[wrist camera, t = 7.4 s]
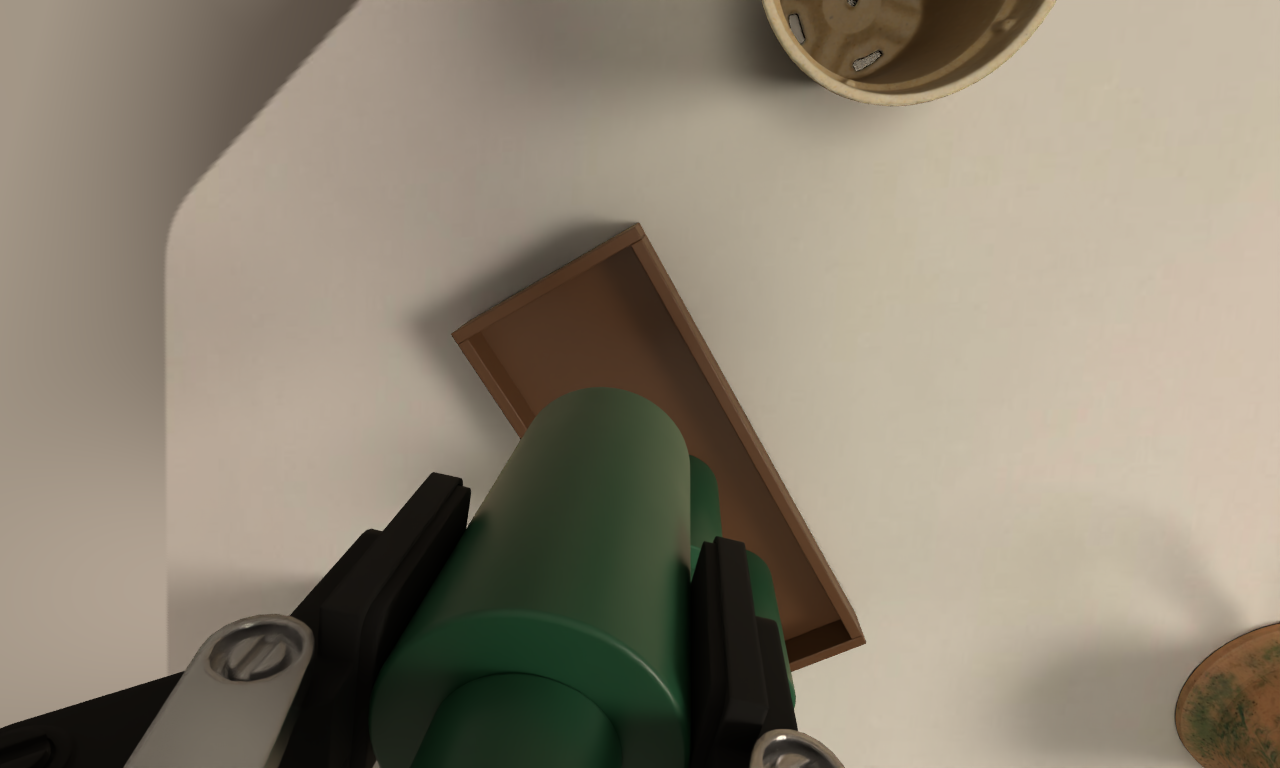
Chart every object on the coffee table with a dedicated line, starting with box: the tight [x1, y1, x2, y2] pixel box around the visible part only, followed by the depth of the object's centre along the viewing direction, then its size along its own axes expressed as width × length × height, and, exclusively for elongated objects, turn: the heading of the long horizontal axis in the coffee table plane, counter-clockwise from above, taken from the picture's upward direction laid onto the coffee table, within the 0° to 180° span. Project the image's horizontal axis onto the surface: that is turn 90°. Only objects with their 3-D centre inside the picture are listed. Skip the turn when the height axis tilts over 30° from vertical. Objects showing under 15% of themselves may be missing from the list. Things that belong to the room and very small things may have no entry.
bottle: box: [368, 387, 691, 768], centre depth 12 cm, size 4×4×10 cm
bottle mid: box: [689, 455, 722, 581], centre depth 30 cm, size 4×4×10 cm
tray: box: [451, 223, 866, 672], centre depth 34 cm, size 25×10×2 cm, turn 30°
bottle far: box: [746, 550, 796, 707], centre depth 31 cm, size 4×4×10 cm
